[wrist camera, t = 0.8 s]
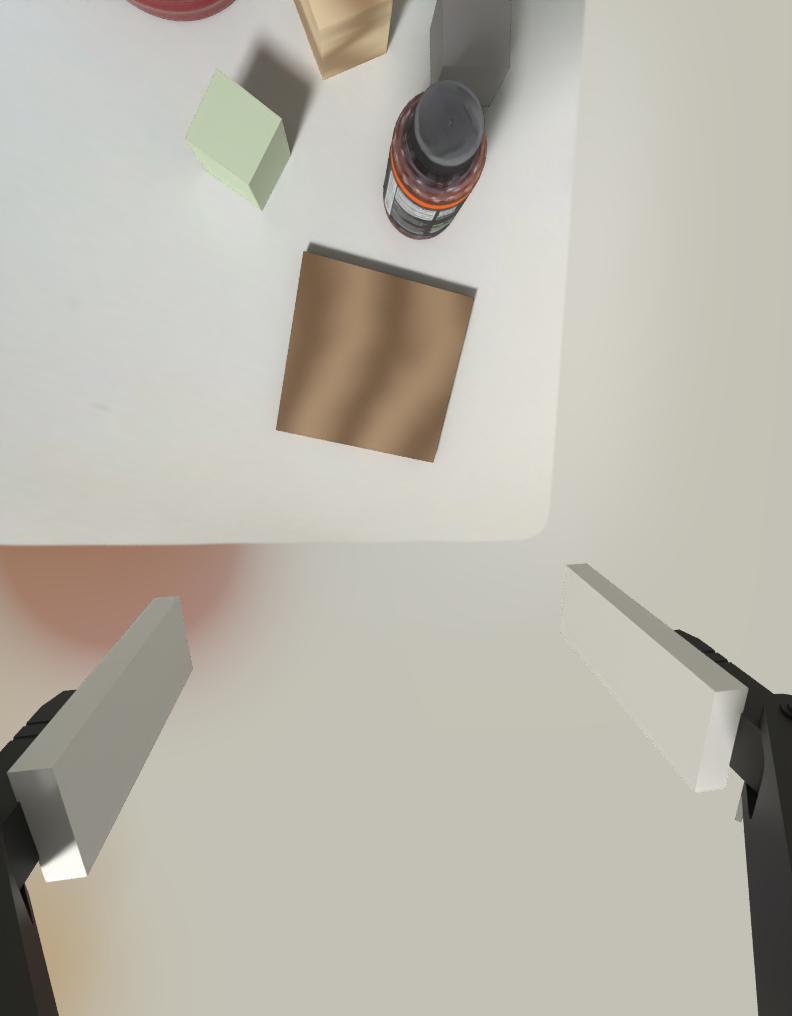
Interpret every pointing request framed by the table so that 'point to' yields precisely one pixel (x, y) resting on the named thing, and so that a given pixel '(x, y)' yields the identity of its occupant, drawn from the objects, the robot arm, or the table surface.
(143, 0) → the canister
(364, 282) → the plate
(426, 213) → the supplement bottle
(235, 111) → the sage block
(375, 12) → the beech block
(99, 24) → the table surface
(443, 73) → the grey block
